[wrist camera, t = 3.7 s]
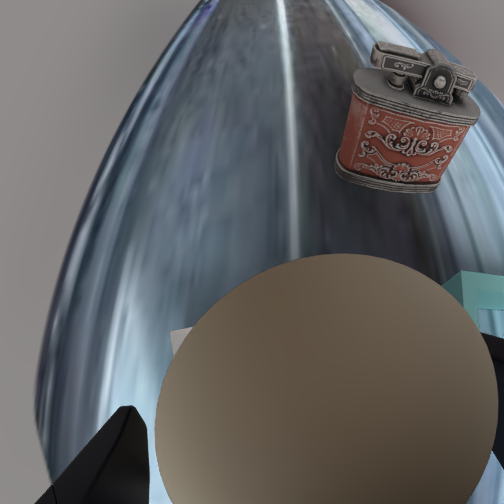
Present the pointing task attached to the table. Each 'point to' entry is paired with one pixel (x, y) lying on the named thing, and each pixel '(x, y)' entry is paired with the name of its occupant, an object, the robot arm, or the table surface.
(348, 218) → the table surface
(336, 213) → the table surface
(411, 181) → the lighter
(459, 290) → the teal socket
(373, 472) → the peg
